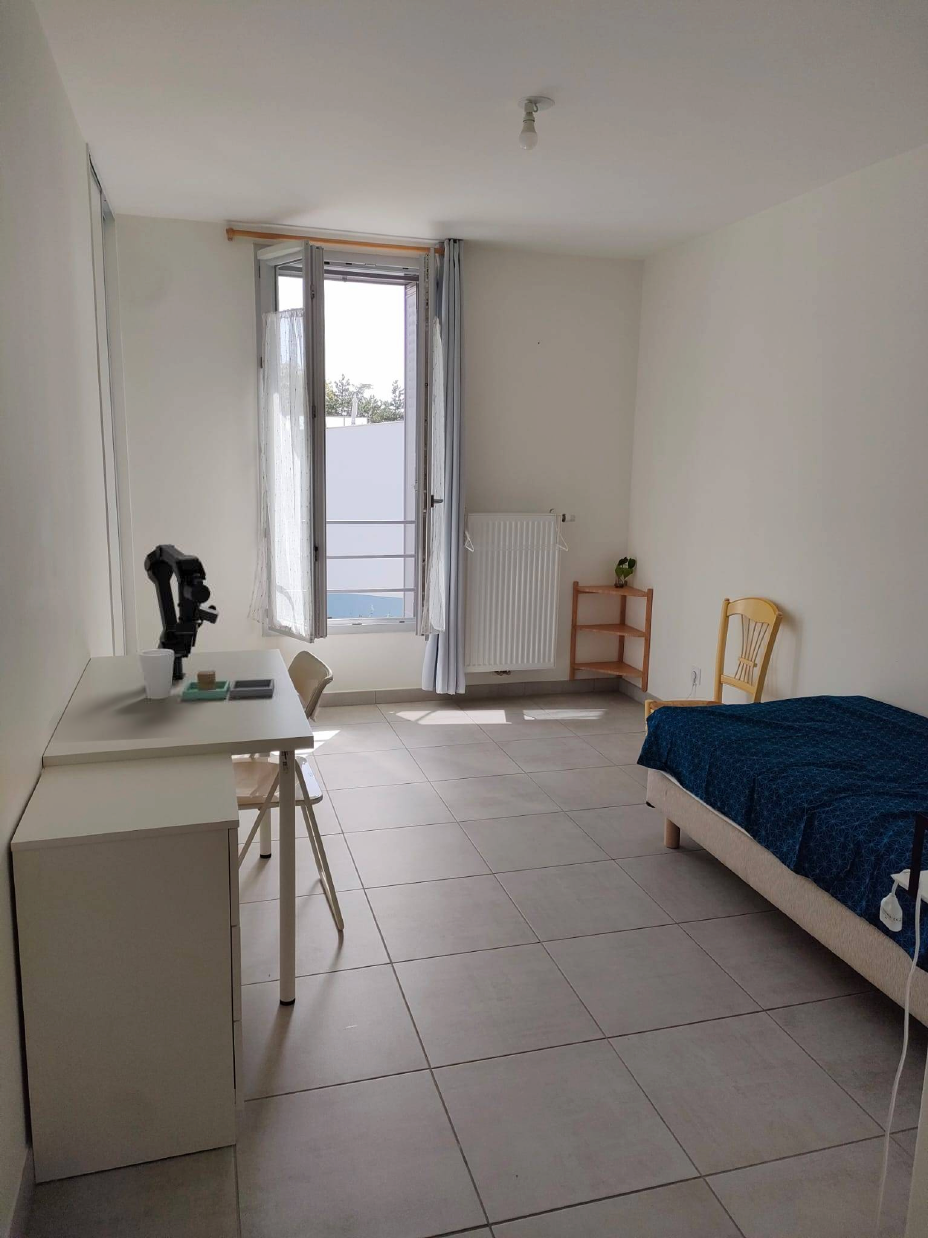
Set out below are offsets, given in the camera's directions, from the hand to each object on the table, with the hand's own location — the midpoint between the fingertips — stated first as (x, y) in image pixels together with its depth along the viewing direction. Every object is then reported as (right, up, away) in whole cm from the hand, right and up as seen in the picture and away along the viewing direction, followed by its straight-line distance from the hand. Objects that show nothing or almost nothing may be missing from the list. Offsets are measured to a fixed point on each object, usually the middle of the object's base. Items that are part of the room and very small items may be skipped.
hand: (190, 650), depth 262 cm
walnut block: (+6, -12, -5) cm, 15 cm away
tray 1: (+6, -13, -5) cm, 15 cm away
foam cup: (-7, -13, -7) cm, 17 cm away
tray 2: (+19, -12, -3) cm, 23 cm away
